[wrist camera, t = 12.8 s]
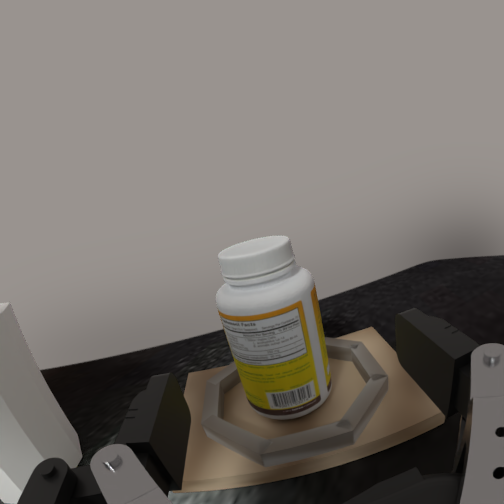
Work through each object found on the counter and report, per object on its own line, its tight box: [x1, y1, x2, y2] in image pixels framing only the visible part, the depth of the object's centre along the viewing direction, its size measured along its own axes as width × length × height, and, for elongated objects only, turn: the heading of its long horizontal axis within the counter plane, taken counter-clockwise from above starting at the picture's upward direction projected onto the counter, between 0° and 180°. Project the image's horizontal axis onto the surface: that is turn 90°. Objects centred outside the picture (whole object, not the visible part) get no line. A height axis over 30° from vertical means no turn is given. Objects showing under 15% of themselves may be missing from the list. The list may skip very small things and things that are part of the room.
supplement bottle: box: [216, 236, 332, 420], centre depth 18 cm, size 6×6×10 cm
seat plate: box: [173, 327, 445, 493], centre depth 19 cm, size 16×12×2 cm
